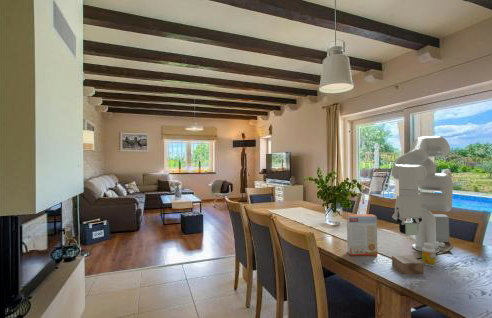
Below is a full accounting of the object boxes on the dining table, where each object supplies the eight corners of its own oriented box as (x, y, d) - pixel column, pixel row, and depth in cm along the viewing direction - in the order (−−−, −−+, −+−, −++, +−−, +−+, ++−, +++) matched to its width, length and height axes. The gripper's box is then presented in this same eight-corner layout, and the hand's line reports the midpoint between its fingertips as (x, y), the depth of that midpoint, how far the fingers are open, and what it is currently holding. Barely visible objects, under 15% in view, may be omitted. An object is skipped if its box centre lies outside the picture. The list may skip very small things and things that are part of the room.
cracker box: (373, 252, 143) (373, 213, 143) (377, 256, 137) (377, 216, 137) (346, 251, 145) (346, 213, 145) (350, 255, 139) (349, 216, 139)
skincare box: (445, 239, 163) (445, 214, 163) (450, 243, 156) (449, 216, 156) (429, 238, 166) (429, 213, 166) (433, 241, 159) (433, 215, 159)
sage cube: (410, 231, 123) (410, 221, 123) (417, 235, 118) (417, 223, 118) (400, 232, 123) (400, 221, 123) (406, 235, 118) (406, 224, 118)
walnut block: (410, 266, 126) (410, 255, 126) (423, 274, 117) (423, 263, 117) (392, 266, 126) (391, 255, 126) (403, 274, 117) (403, 263, 117)
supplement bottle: (419, 262, 130) (419, 242, 130) (429, 261, 130) (429, 241, 130) (427, 266, 124) (427, 245, 124) (438, 266, 125) (438, 245, 125)
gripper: (421, 191, 124) (421, 230, 124) (385, 192, 124) (385, 230, 124) (432, 193, 117) (433, 234, 117) (394, 194, 116) (394, 235, 117)
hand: (408, 232), depth 120 cm, fingers closed on sage cube, 5 cm apart
